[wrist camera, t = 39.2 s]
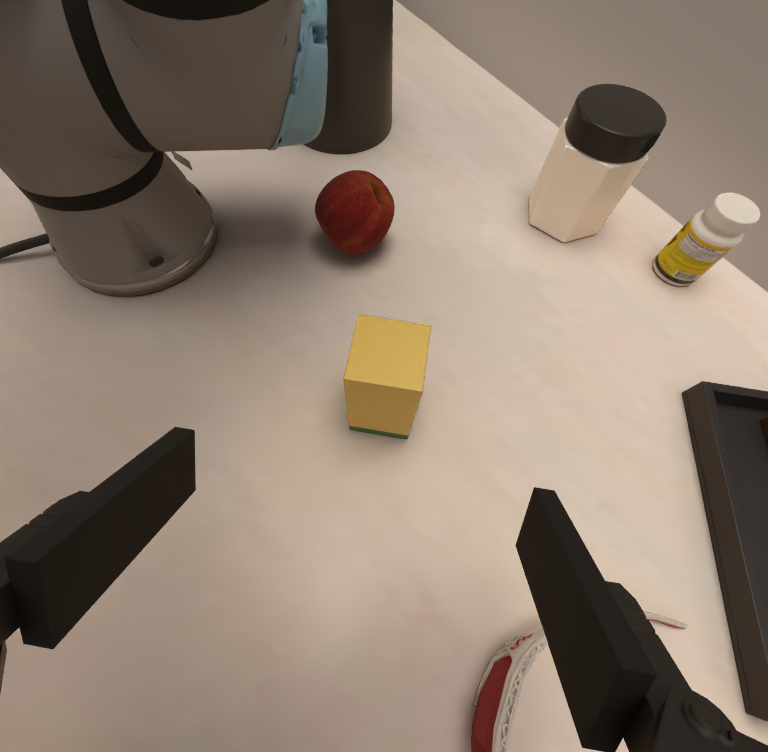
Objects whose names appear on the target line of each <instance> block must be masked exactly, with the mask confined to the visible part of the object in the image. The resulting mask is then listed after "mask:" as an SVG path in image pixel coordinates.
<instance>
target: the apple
mask: <svg viewBox="0 0 768 752" xmlns="http://www.w3.org/2000/svg"><path fill="white" fill-rule="evenodd" d="M315 214H316V218H317V220H318V222H319V224H320V226H321V228H322V230H323V231H324V233H325V235H326V237H327V238H328V240H329V241H330V242H331V244H332V245H333V246H334V247H335V248H337V249H338V250H339V251H341V252H343V253H345V254H349V255H358V254H362V253H365V252H368V251H370V250H371V249H373V248H374V247H376V246H377V245H378V244H379V243H380V242H381V240H382V239H383V238H384V236H385V235H386V233H387V232H388V230H389V228H390V226H391V223H392V220H393V216H394V200H393V197H392V195H391V194H390V192H389V190H388V188H387V187H386V186H385V185H384V183H383V182H382V181H381V180H380V179H379V178H377V177H376V176H375V175H373V174H372V173H369V172H367V171H359V170H353V171H348V172H345V173H343V174H340V175H338V176H337V177H335V178H334V179H332V180H331V181H330V182H329V183H328V184H327V185H326V186H325V187H324V188H323V189H322V191H321V192H320V194H319V196H318V198H317V201H316V205H315Z"/></svg>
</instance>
